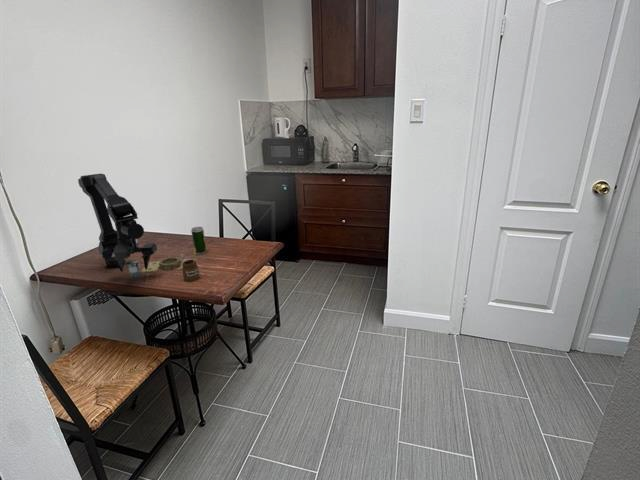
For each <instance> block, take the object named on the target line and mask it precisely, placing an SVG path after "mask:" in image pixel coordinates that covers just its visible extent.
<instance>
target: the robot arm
mask: <svg viewBox="0 0 640 480" xmlns="http://www.w3.org/2000/svg"><path fill="white" fill-rule="evenodd" d="M77 181H78V185H79V187H80V188H81V190H82V192H83V193H84V194H85V195H87V196H88V197H89V198H90V203H91V205H92V208H93V211H94V213H95V214H94V215H95V216H96V220H97V223H98V226H99V229H100V233H99V237H98V240H99V242H98V248H97V250H98V252H99V255H101V257H102V259H104V261H105V262H104V263H105V266H104V269H110V268H118V270H120V272H122V273H123V272H124V264H126V263H127V261H126V260H125V259H128V258H130V257H131V254H132V255H133V254H136V253H141V254H142V255H141V257H142V259H143V264H144V267H145V270H147V268H148V264H149V262H150V259H151V256H152V255H154V254H155V253H156V252H157V250H158V247H157V245H156V243H145V244H144V245H143V246H142V247H141V246H140V247H138V246H139V242H138V243H136V239H137V240H139V239H140V238H142V237H143V236H144V233H145V229H144V227H143V225H142V224H139V223H137V220H138V218H139V217H138V212H137V211H136V210H135V207H133V205H132V204H131V202H129V201H128V199H126V198H125V197H123V196H121V195H119V194H118V193H117V191H116V190H115V189H114V188H113V186H112V185H111V184H110V182H109V181H108V180H107V177H106V174H105V173H94V174H88V175H81V176H80V178H78V179H77ZM124 216H126V217H124ZM112 221H113V222H114V226H115V229H114V226H113V223H112Z"/></svg>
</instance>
